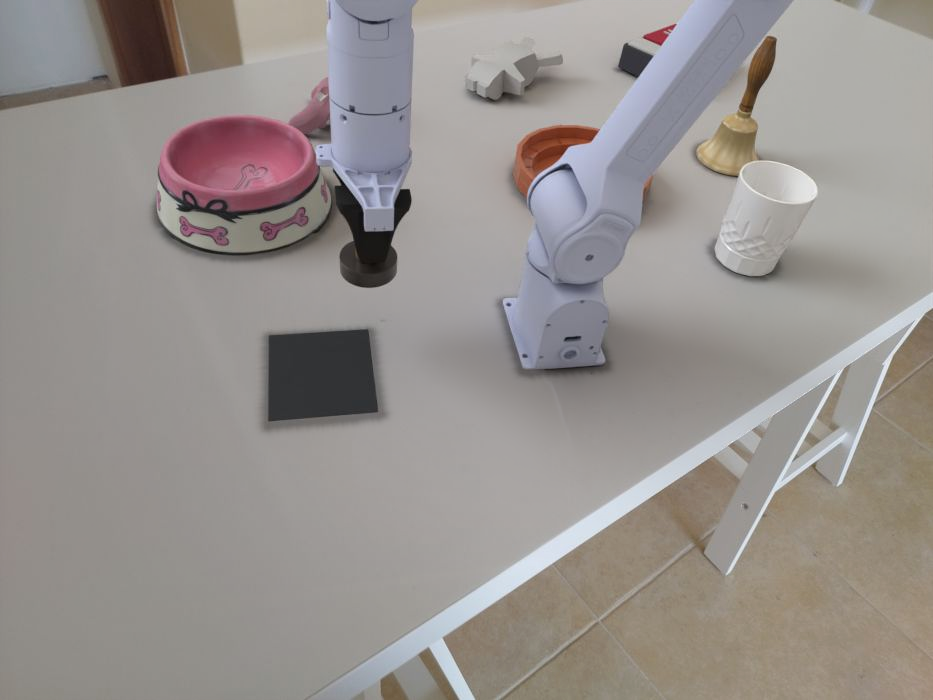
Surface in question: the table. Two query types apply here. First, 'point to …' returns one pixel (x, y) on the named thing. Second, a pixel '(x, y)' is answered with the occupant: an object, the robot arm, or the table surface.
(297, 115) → the video game controller
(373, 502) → the table surface
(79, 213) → the table surface
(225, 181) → the dog bowl
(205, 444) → the table surface
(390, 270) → the coffee tamper
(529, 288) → the robot arm
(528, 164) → the terracotta bowl
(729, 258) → the white cup
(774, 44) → the hand bell
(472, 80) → the white lobed flat block
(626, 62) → the calculator
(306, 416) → the mat
